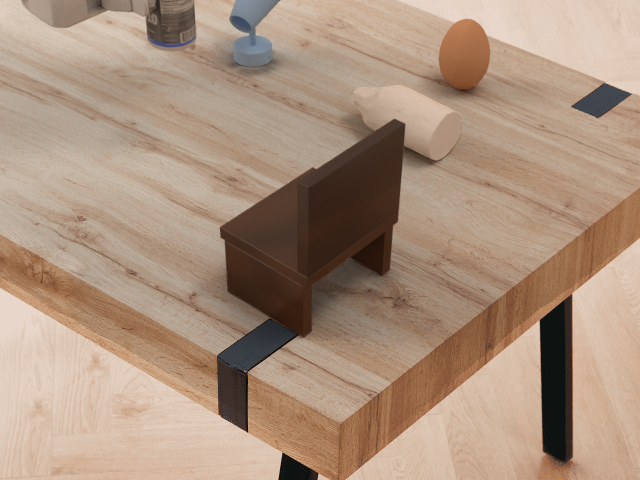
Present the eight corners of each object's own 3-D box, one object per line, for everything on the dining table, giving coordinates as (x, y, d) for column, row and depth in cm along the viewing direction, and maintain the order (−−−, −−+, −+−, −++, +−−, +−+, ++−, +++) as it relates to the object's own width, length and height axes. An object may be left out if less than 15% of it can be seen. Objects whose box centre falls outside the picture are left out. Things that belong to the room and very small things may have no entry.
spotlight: (251, 38, 130) (221, 62, 125) (249, -41, 123) (217, -18, 118) (287, 48, 128) (258, 73, 124) (287, -32, 122) (255, -8, 117)
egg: (494, 83, 124) (503, 17, 119) (472, 105, 121) (480, 38, 115) (450, 69, 126) (457, 3, 121) (427, 90, 123) (432, 23, 117)
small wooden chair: (223, 288, 96) (213, 137, 85) (312, 227, 103) (313, 80, 92) (307, 340, 91) (308, 187, 81) (394, 272, 98) (405, 123, 88)
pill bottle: (143, 32, 106) (134, -50, 100) (190, 26, 107) (184, -55, 102) (153, 55, 102) (145, -28, 97) (202, 49, 104) (196, -34, 98)
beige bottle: (372, 104, 120) (375, 60, 116) (460, 146, 114) (465, 100, 111) (337, 126, 116) (339, 80, 112) (426, 170, 111) (430, 123, 107)
